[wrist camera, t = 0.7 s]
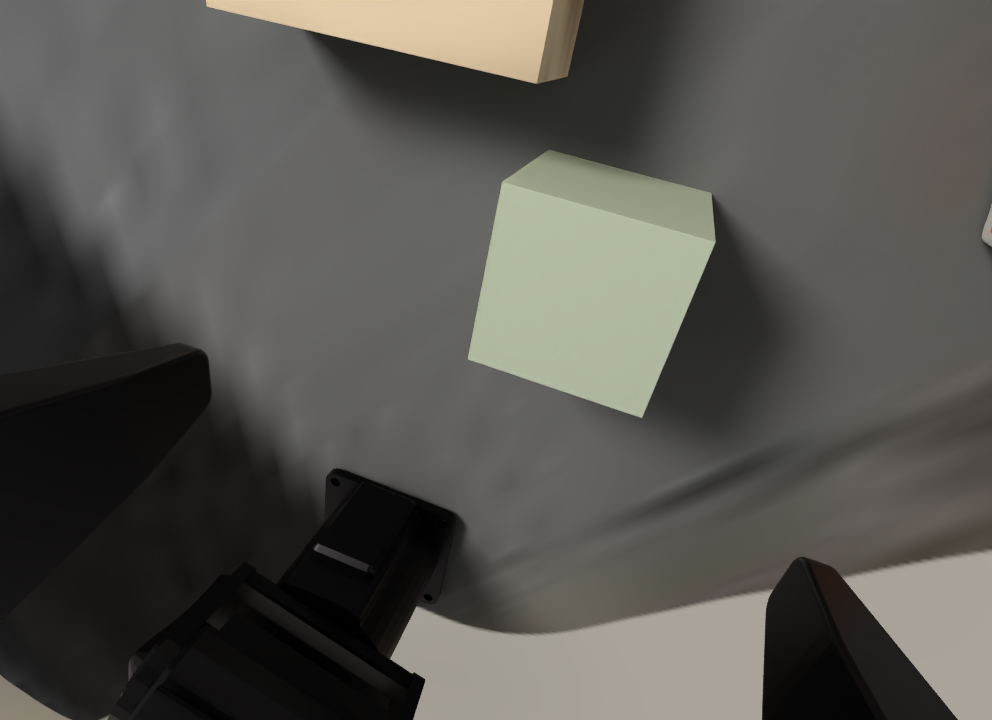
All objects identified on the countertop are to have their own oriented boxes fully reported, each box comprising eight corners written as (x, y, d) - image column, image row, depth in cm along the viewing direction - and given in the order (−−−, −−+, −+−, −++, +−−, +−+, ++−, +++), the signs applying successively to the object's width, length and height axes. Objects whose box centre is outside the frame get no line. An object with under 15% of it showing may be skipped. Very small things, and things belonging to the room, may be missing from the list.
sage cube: (654, 337, 19) (642, 418, 15) (515, 293, 20) (467, 359, 16) (711, 192, 17) (715, 242, 12) (549, 149, 17) (502, 182, 13)
